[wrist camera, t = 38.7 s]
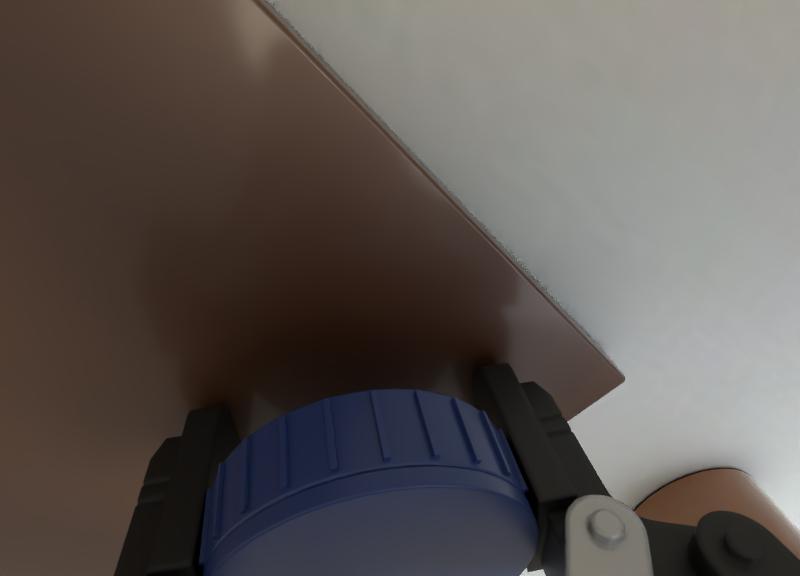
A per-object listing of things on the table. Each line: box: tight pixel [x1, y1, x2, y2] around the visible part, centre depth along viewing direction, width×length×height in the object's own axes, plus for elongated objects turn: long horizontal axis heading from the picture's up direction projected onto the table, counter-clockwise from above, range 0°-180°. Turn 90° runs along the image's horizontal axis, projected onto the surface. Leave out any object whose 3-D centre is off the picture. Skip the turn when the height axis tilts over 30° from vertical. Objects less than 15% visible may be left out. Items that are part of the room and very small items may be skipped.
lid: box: [199, 388, 540, 576], centre depth 9 cm, size 6×6×2 cm
